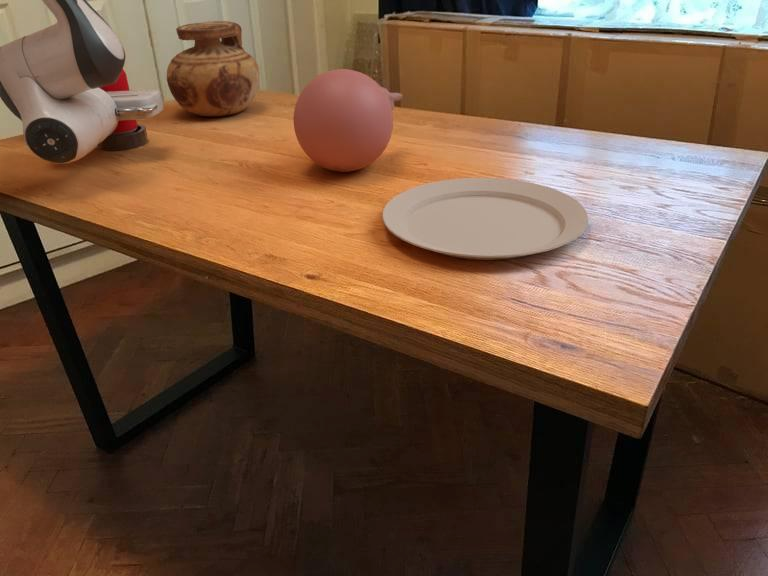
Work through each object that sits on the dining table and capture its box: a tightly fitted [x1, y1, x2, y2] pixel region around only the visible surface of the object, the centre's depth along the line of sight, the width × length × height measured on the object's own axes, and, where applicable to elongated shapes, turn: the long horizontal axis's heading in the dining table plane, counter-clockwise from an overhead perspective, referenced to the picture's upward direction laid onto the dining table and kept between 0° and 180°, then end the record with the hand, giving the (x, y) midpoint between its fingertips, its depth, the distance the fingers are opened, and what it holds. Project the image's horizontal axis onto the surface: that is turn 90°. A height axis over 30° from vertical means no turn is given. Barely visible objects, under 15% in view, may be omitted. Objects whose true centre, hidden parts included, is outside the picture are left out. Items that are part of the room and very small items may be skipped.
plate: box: [382, 177, 590, 261], centre depth 84 cm, size 26×26×2 cm
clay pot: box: [166, 20, 261, 118], centre depth 138 cm, size 19×19×20 cm
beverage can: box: [99, 69, 138, 136], centre depth 120 cm, size 6×6×12 cm
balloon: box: [293, 68, 404, 173], centre depth 103 cm, size 15×20×15 cm
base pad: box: [96, 123, 149, 152], centre depth 123 cm, size 9×9×2 cm
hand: (113, 95), depth 120 cm, fingers closed on beverage can, 6 cm apart
